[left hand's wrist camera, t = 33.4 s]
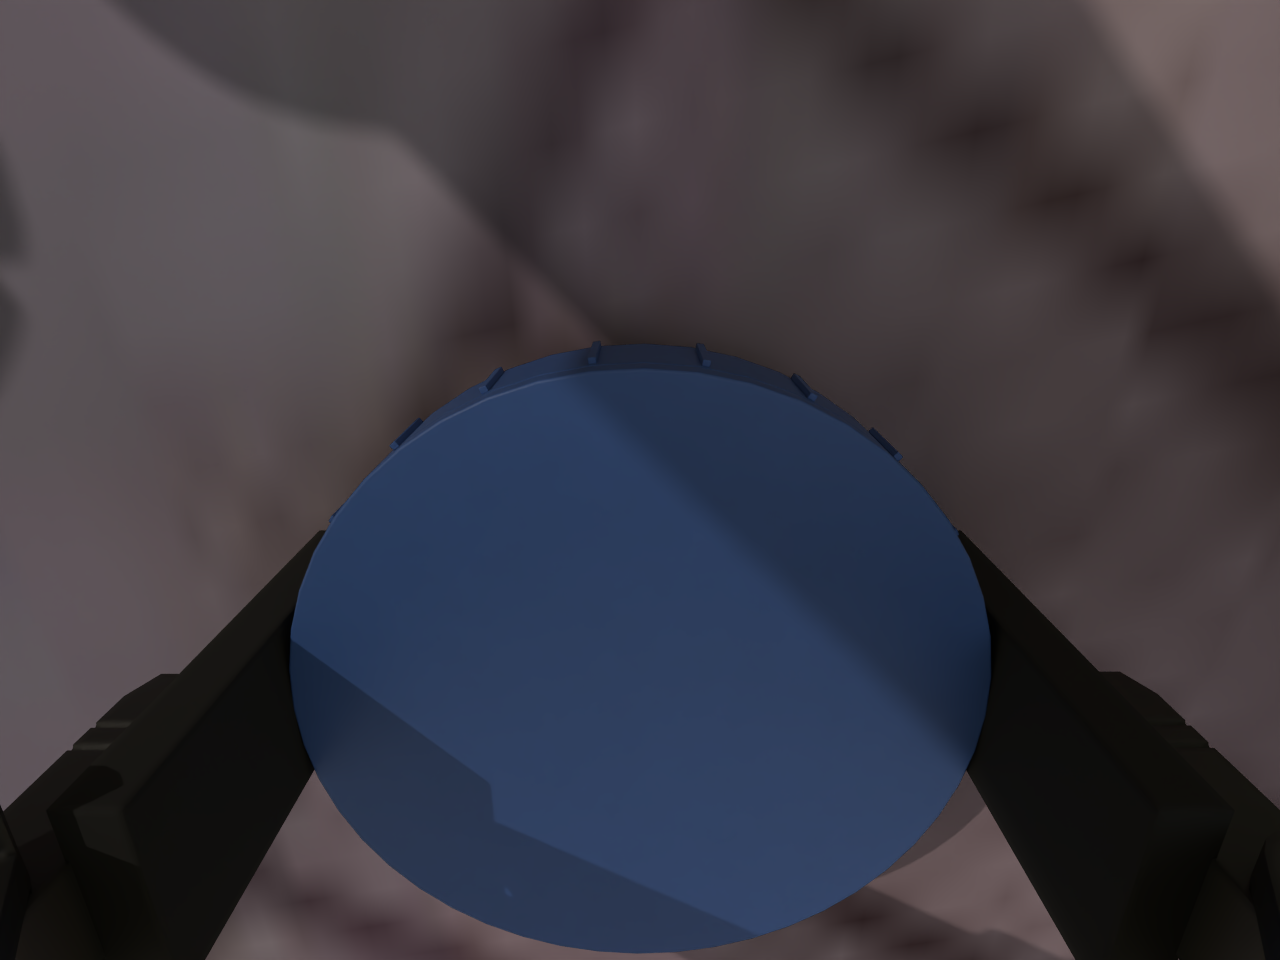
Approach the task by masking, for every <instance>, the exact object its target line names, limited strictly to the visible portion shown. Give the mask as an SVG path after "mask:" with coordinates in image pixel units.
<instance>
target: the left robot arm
mask: <svg viewBox="0 0 1280 960" xmlns="http://www.w3.org/2000/svg"><path fill="white" fill-rule="evenodd" d="M325 532H326V531H319V532H318V533H317V534H316V535H315V536H314V537H313V538H312V539H311V540H310V541H309V542H308V543H307V544H306V545H305V546H304V547H303V548H302V549H301V550H300V551H299V552H298V553H297V554H296V555H295V556H294V557H293V558H292V559H291V560H290V561H289V562H288V563H287V564H286V565H285V566H284V568H283V569H282V570H281V571H280V572H279V573H278V574H277V575H276V576H275V577H274V578H273V579H272V580H271V581H270V582H269V583H268V584H267V585H266V586H265V587H264V588H263V589H262V590H261V591H260V592H259V593H258V594H257V595H256V596H255V597H254V598H253V599H252V600H251V601H250V602H249V603H248V604H247V605H246V606H245V607H244V608H243V609H242V610H241V611H240V612H239V613H238V615H237V616H236V617H235V618H234V619H233V620H232V621H231V622H230V623H229V624H228V625H227V626H226V627H225V628H224V629H223V630H222V631H221V632H220V633H219V634H218V635H217V636H216V637H215V638H214V639H213V640H212V641H211V642H210V643H209V644H208V645H207V646H206V647H205V648H204V649H203V650H202V651H201V652H200V653H199V654H198V655H197V656H196V657H195V658H194V659H193V660H192V662H191V663H190V664H189V665H188V666H187V667H186V668H185V669H184V670H183V671H182V672H181V673H180V674H160V675H159V676H157V677H155V678H154V679H152V680H150V681H149V682H147V683H145V684H144V685H142V686H140V687H139V688H137V689H135V690H134V691H132V692H130V693H129V694H127V695H125V696H124V697H123V698H122V699H121V700H120V701H119V702H117V703H116V704H115V705H114V706H113V707H112V708H111V709H110V710H109V711H108V712H107V713H106V714H105V715H104V716H103V717H102V718H101V719H100V720H99V721H98V722H97V723H96V727H95V728H90V729H89V730H88V731H87V732H86V733H85V734H84V735H83V736H82V737H81V738H80V739H79V740H78V741H77V742H76V743H75V744H74V745H73V749H72V751H66V752H65V753H64V754H63V755H62V756H61V757H60V758H59V759H58V760H57V761H56V762H55V763H54V764H53V765H52V766H50V767H49V768H48V769H47V770H46V771H45V772H44V773H43V774H42V775H41V776H40V777H39V778H38V779H37V780H36V781H35V782H34V783H33V784H32V785H31V786H30V787H29V788H27V789H26V790H25V791H24V792H23V793H22V794H21V795H20V796H19V797H18V798H17V799H16V800H15V801H14V802H13V803H12V804H11V805H10V806H9V807H8V808H7V809H5V810H4V811H3V810H2V808H1V806H0V960H205V959H206V957H207V955H208V954H209V952H210V950H211V948H212V947H213V945H214V943H215V941H216V940H217V938H218V936H219V934H220V933H221V931H222V929H223V928H224V926H225V924H226V922H227V921H228V919H229V917H230V915H231V914H232V912H233V910H234V908H235V907H236V905H237V903H238V901H239V900H240V898H241V896H242V895H243V893H244V891H245V889H246V888H247V886H248V884H249V882H250V881H251V879H252V877H253V875H254V874H255V872H256V870H257V868H258V867H259V865H260V863H261V862H262V860H263V858H264V856H265V855H266V853H267V851H268V849H269V848H270V846H271V844H272V842H273V841H274V839H275V837H276V835H277V834H278V832H279V830H280V828H281V827H282V825H283V823H284V822H285V820H286V818H287V816H288V815H289V813H290V811H291V809H292V808H293V806H294V804H295V802H296V801H297V799H298V797H299V795H300V794H301V792H302V790H303V789H304V787H305V785H306V783H307V782H308V780H309V778H310V776H311V775H312V773H313V771H314V767H313V765H312V762H311V760H310V758H309V755H308V753H307V751H306V749H305V746H304V744H303V740H302V737H301V733H300V729H299V726H298V722H297V719H296V715H295V711H294V706H293V698H292V690H291V681H290V673H289V664H290V640H291V627H292V622H293V618H294V613H295V608H296V603H297V598H298V593H299V589H300V587H301V584H302V582H303V579H304V576H305V574H306V571H307V569H308V566H309V563H310V561H311V558H312V556H313V553H314V551H315V549H316V547H317V546H318V544H319V542H320V540H321V539H322V537H323V535H324V534H325ZM958 533H959V535H957V536H958V538H959V539H960V541H961V543H962V545H963V547H964V548H965V550H966V552H967V554H968V556H969V558H970V560H971V563H972V566H973V569H974V572H975V574H976V577H977V580H978V583H979V586H980V588H981V591H982V594H983V597H984V602H985V608H986V613H987V619H988V625H989V630H990V636H991V683H990V690H989V697H988V704H987V710H986V715H985V719H984V723H983V726H982V729H981V733H980V736H979V739H978V743H977V746H976V749H975V752H974V754H973V756H972V758H971V760H970V762H969V765H968V767H967V769H966V770H967V772H968V774H969V776H970V777H971V779H972V781H973V783H974V784H975V786H976V788H977V790H978V791H979V793H980V795H981V796H982V798H983V800H984V802H985V803H986V805H987V807H988V809H989V810H990V812H991V814H992V816H993V817H994V819H995V821H996V823H997V824H998V826H999V828H1000V829H1001V831H1002V833H1003V835H1004V836H1005V838H1006V840H1007V842H1008V843H1009V845H1010V847H1011V849H1012V850H1013V852H1014V854H1015V856H1016V857H1017V859H1018V861H1019V862H1020V864H1021V866H1022V868H1023V869H1024V871H1025V873H1026V875H1027V876H1028V878H1029V880H1030V882H1031V883H1032V885H1033V887H1034V889H1035V890H1036V892H1037V894H1038V895H1039V897H1040V899H1041V901H1042V902H1043V904H1044V906H1045V908H1046V909H1047V911H1048V913H1049V915H1050V916H1051V918H1052V920H1053V922H1054V923H1055V925H1056V927H1057V928H1058V930H1059V932H1060V934H1061V935H1062V937H1063V939H1064V941H1065V942H1066V944H1067V946H1068V948H1069V949H1070V951H1071V953H1072V954H1073V956H1074V958H1075V960H1178V958H1179V960H1280V810H1279V809H1278V808H1277V807H1276V806H1275V805H1274V804H1273V803H1272V802H1271V801H1270V800H1269V799H1268V798H1266V797H1265V796H1264V795H1263V794H1262V793H1261V792H1260V791H1259V790H1258V789H1257V788H1256V787H1255V786H1254V785H1253V784H1252V783H1251V782H1250V781H1249V780H1248V779H1246V778H1245V777H1244V776H1243V775H1242V774H1241V773H1240V772H1239V771H1238V770H1237V769H1236V768H1235V767H1234V766H1233V765H1232V764H1231V763H1230V762H1229V761H1227V760H1226V759H1225V758H1224V757H1223V756H1222V755H1221V754H1220V753H1219V752H1218V751H1217V750H1216V749H1215V748H1210V747H1209V745H1208V742H1207V741H1206V740H1205V739H1204V738H1203V737H1202V736H1201V735H1200V734H1199V733H1198V732H1197V731H1196V730H1195V729H1194V728H1193V727H1192V726H1186V724H1185V720H1184V719H1183V718H1182V717H1181V716H1180V715H1179V714H1178V713H1177V712H1176V711H1175V710H1174V709H1173V708H1172V707H1171V706H1170V705H1168V704H1167V703H1166V702H1165V701H1164V700H1163V699H1162V698H1161V697H1160V696H1159V695H1158V694H1157V693H1155V692H1153V691H1151V690H1150V689H1148V688H1146V687H1145V686H1143V685H1141V684H1140V683H1138V682H1136V681H1135V680H1133V679H1131V678H1130V677H1128V676H1126V675H1125V674H1123V673H1121V672H1099V671H1098V670H1097V669H1096V668H1095V667H1094V666H1093V665H1092V664H1091V663H1090V662H1089V661H1088V660H1087V659H1086V658H1085V657H1084V656H1083V655H1082V654H1081V653H1080V652H1079V651H1078V650H1077V649H1076V648H1075V647H1074V646H1073V645H1072V644H1071V643H1070V642H1069V641H1068V640H1067V639H1066V638H1065V637H1064V635H1063V634H1062V633H1061V632H1060V631H1059V630H1058V629H1057V628H1056V627H1055V626H1054V625H1053V624H1052V623H1051V622H1050V621H1049V620H1048V619H1047V618H1046V617H1045V616H1044V615H1043V614H1042V613H1041V612H1040V611H1039V610H1038V609H1037V608H1036V607H1035V606H1034V605H1033V604H1032V603H1031V602H1030V601H1029V600H1028V599H1027V598H1026V597H1025V596H1024V595H1023V594H1022V593H1021V592H1020V591H1019V590H1018V589H1017V587H1016V586H1015V585H1014V584H1013V583H1012V582H1011V581H1010V580H1009V579H1008V578H1007V577H1006V576H1005V575H1004V574H1003V573H1002V572H1001V571H1000V570H999V569H998V568H997V567H996V566H995V565H994V564H993V563H992V562H991V561H990V560H989V559H988V558H987V557H986V556H985V555H984V554H983V553H982V552H981V551H980V550H979V549H978V548H977V547H976V546H975V545H974V544H973V543H972V542H971V541H970V539H969V538H968V537H967V536H966V535H965V534H964V533H963V532H962V531H958Z"/></svg>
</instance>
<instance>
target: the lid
mask: <svg viewBox="0 0 1280 960" xmlns="http://www.w3.org/2000/svg"><path fill="white" fill-rule="evenodd" d="M390 447H391V448H392V449H393V451H392V452H391V453H390V454H389V455H388V456H387V457H386V458H385V459H384V460H383V461H382V462H381V463H380V464H379V465H378V466H377V467H376V468H375V469H374V470H373V471H372V472H371V473H370V474H369V475H368V476H367V477H366V478H365V479H364V480H363V481H362V482H361V484H360V485H359V486H358V487H357V489H356V490H355V491H354V492H353V494H352V495H351V496H350V497H349V498H348V500H347V501H346V502H345V503H344V504H343V505H342V506H341V507H340V508H339V509H338V510H337V511H336V512H335V513H334V514H333V515H332V516H331V518H330V520H329V522H330V525H329V527H328V528H327V530H326V532H325V534H324V535H323V537H322V539H321V540H320V542H319V544H318V546H317V547H316V549H315V551H314V553H313V556H312V558H311V561H310V563H309V566H308V569H307V571H306V574H305V576H304V579H303V582H302V584H301V587H300V589H299V593H298V598H297V603H296V608H295V613H294V618H293V622H292V627H291V640H290V664H289V673H290V681H291V690H292V698H293V706H294V711H295V715H296V719H297V722H298V726H299V729H300V733H301V737H302V740H303V744H304V746H305V749H306V751H307V753H308V755H309V758H310V760H311V762H312V765H313V767H314V769H315V771H316V774H317V776H318V778H319V780H320V782H321V783H322V785H323V786H324V788H325V790H326V791H327V793H328V794H329V796H330V798H331V799H332V801H333V803H334V804H335V806H336V807H337V809H338V811H339V812H340V813H341V814H342V815H343V817H344V818H345V819H346V820H347V822H348V823H349V824H350V825H351V827H352V828H353V829H354V830H355V831H356V833H357V834H358V835H359V836H360V838H361V839H362V840H363V841H364V842H365V843H366V844H367V845H368V846H369V847H370V848H372V849H373V850H374V851H375V852H376V853H377V854H378V855H379V856H380V857H381V858H382V859H383V860H384V861H385V862H386V863H387V864H388V865H389V866H391V867H392V868H393V869H395V870H396V871H397V872H398V873H400V874H401V875H402V876H404V877H405V878H406V879H408V880H409V881H410V882H412V883H413V884H414V885H416V886H417V887H418V888H420V889H421V890H423V891H425V892H426V893H428V894H430V895H431V896H433V897H435V898H436V899H438V900H440V901H441V902H443V903H445V904H446V905H448V906H450V907H451V908H453V909H456V910H458V911H460V912H462V913H464V914H466V915H468V916H471V917H473V918H475V919H477V920H479V921H481V922H484V923H486V924H488V925H491V926H494V927H497V928H500V929H503V930H505V931H508V932H511V933H514V934H517V935H520V936H523V937H527V938H531V939H535V940H539V941H543V942H547V943H551V944H555V945H559V946H565V947H572V948H579V949H586V950H593V951H601V952H619V953H663V952H680V951H687V950H695V949H703V948H711V947H716V946H721V945H725V944H730V943H734V942H738V941H743V940H747V939H752V938H755V937H758V936H761V935H764V934H767V933H770V932H773V931H776V930H779V929H782V928H785V927H788V926H790V925H793V924H795V923H797V922H799V921H802V920H804V919H806V918H808V917H811V916H813V915H815V914H817V913H820V912H822V911H824V910H826V909H827V908H829V907H831V906H833V905H834V904H836V903H838V902H840V901H841V900H843V899H845V898H847V897H848V896H850V895H852V894H854V893H855V892H857V891H858V890H860V889H861V888H862V887H864V886H865V885H867V884H868V883H869V882H871V881H872V880H873V879H875V878H876V877H878V876H879V875H880V874H882V873H883V872H884V871H886V870H887V869H888V868H889V867H890V866H891V865H893V864H894V863H895V862H896V861H897V860H898V859H899V858H900V857H901V856H902V855H903V854H904V853H906V852H907V851H908V850H909V849H910V848H911V847H912V846H913V845H914V844H915V843H916V842H917V841H918V840H919V838H920V837H921V836H922V835H923V834H924V833H925V831H926V830H927V829H928V828H929V827H930V826H931V824H932V823H933V822H934V821H935V820H936V818H937V817H938V816H939V815H940V813H941V812H942V810H943V809H944V807H945V805H946V804H947V802H948V801H949V799H950V798H951V796H952V795H953V793H954V792H955V790H956V789H957V787H958V786H959V784H960V782H961V780H962V777H963V775H964V773H965V771H966V769H967V767H968V765H969V762H970V760H971V758H972V756H973V754H974V752H975V749H976V746H977V743H978V739H979V736H980V733H981V729H982V726H983V723H984V719H985V715H986V710H987V704H988V697H989V690H990V683H991V636H990V630H989V625H988V619H987V613H986V608H985V602H984V597H983V594H982V591H981V588H980V586H979V583H978V580H977V577H976V574H975V572H974V569H973V566H972V563H971V560H970V558H969V556H968V554H967V552H966V550H965V548H964V547H963V545H962V543H961V541H960V539H959V538H958V536H957V535H959V533H958V531H957V529H956V528H955V527H954V526H953V525H952V524H951V523H950V521H949V519H948V518H947V517H946V516H945V514H944V513H943V512H942V510H941V509H940V508H939V507H938V505H937V504H936V503H935V501H934V500H933V499H932V497H931V496H930V495H929V494H928V492H927V491H926V490H925V488H924V487H923V486H922V485H921V484H920V482H919V481H918V480H917V479H916V478H915V477H913V476H912V474H911V473H910V472H909V471H908V470H907V469H906V468H905V467H904V466H903V465H902V464H901V463H900V462H899V460H900V459H901V458H903V456H902V455H901V454H900V453H899V452H898V451H897V450H896V449H895V448H894V447H893V446H891V445H890V444H889V443H888V442H887V441H886V440H885V439H884V438H883V437H882V436H881V435H880V434H879V433H878V432H877V431H876V430H875V429H874V428H872V429H870V430H869V432H868V431H867V430H866V429H865V428H864V427H863V426H862V425H861V424H860V423H859V422H857V421H856V420H855V419H854V418H853V417H852V416H851V415H849V414H848V413H846V412H845V411H844V410H842V409H841V408H839V407H838V406H836V405H835V404H834V403H832V402H831V401H829V400H828V399H827V398H825V397H824V396H822V395H821V394H820V393H818V392H816V391H814V390H812V389H811V388H810V387H809V386H808V385H807V384H806V383H805V381H804V380H803V379H802V378H801V377H800V376H798V375H796V374H793V376H792V377H791V378H789V377H787V376H785V375H784V374H782V373H780V372H777V371H774V370H772V369H769V368H766V367H763V366H760V365H758V364H755V363H752V362H749V361H746V360H744V359H741V358H738V357H735V356H730V355H725V354H720V353H716V352H711V351H707V350H706V348H705V346H704V344H699V343H697V344H696V348H692V347H681V346H668V345H655V344H629V345H611V346H601V342H600V341H596V342H593V344H592V347H591V348H586V349H580V350H575V351H570V352H564V353H559V354H554V355H550V356H547V357H544V358H541V359H538V360H535V361H532V362H529V363H526V364H523V365H520V366H517V367H514V368H511V369H508V370H506V371H503V369H502V367H500V368H497V369H495V370H494V371H493V373H492V374H491V375H490V376H489V377H488V378H487V380H486V381H484V382H482V383H479V384H477V385H475V386H473V387H471V388H469V389H468V390H466V391H465V392H463V393H462V394H460V395H459V396H457V397H456V398H454V399H453V400H451V401H450V402H448V403H447V404H446V405H444V406H443V407H441V408H440V409H438V410H437V411H435V412H434V413H432V414H431V415H430V416H429V417H428V418H427V419H426V420H425V421H424V422H423V421H422V420H421V419H420V418H418V419H417V420H416V421H414V422H413V423H412V424H411V425H410V426H409V427H408V428H407V429H406V430H405V431H404V432H403V433H402V434H401V435H400V436H399V437H398V438H397V439H396V440H395V441H394V442H393V443H392V444H391V445H390Z"/></svg>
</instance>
